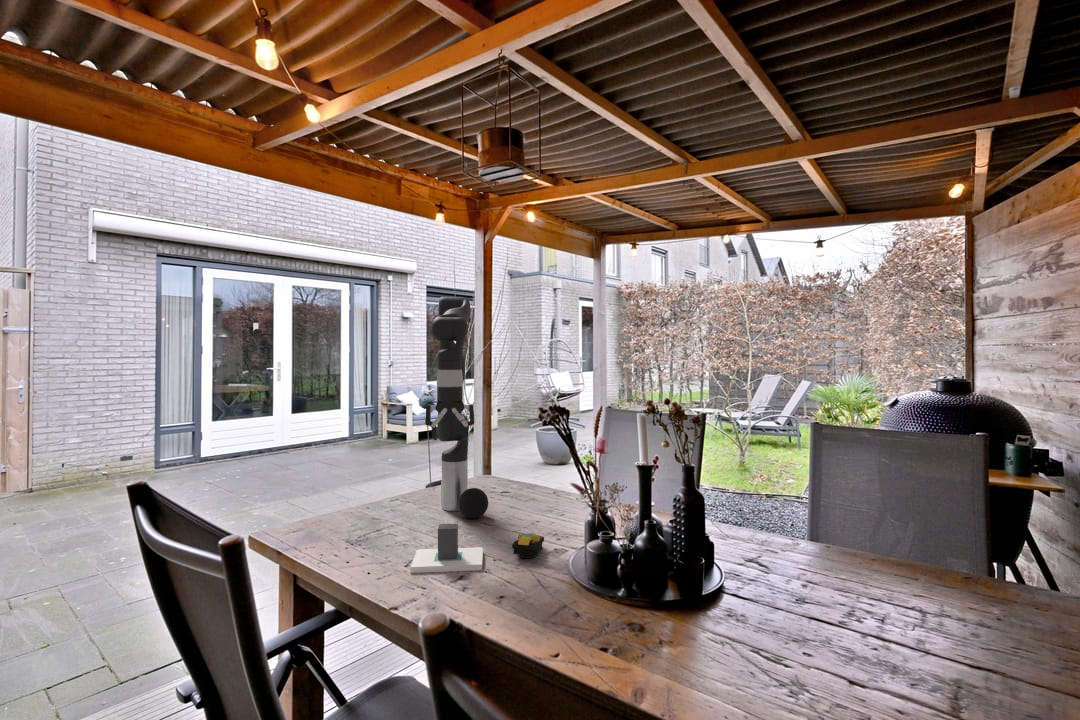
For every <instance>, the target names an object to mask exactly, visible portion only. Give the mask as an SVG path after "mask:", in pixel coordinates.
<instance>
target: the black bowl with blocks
mask: <svg viewBox="0 0 1080 720" xmlns="http://www.w3.org/2000/svg"><path fill="white" fill-rule="evenodd" d="M544 541H545V537H544V536H541V535H540V534H537V533H535V532H534V531H532V532H527V533H524V532H523V533H522V532H521V533H518V535H517V539H516V540H515V541H513V543H512V544H511V548H512V549H513V555H518V556H519V557H520V558H522V559H523V558H524V559H531V558H533V557H535V556H537V555H538V554H539V553H540V551H542V550H543V542H544Z"/></svg>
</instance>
